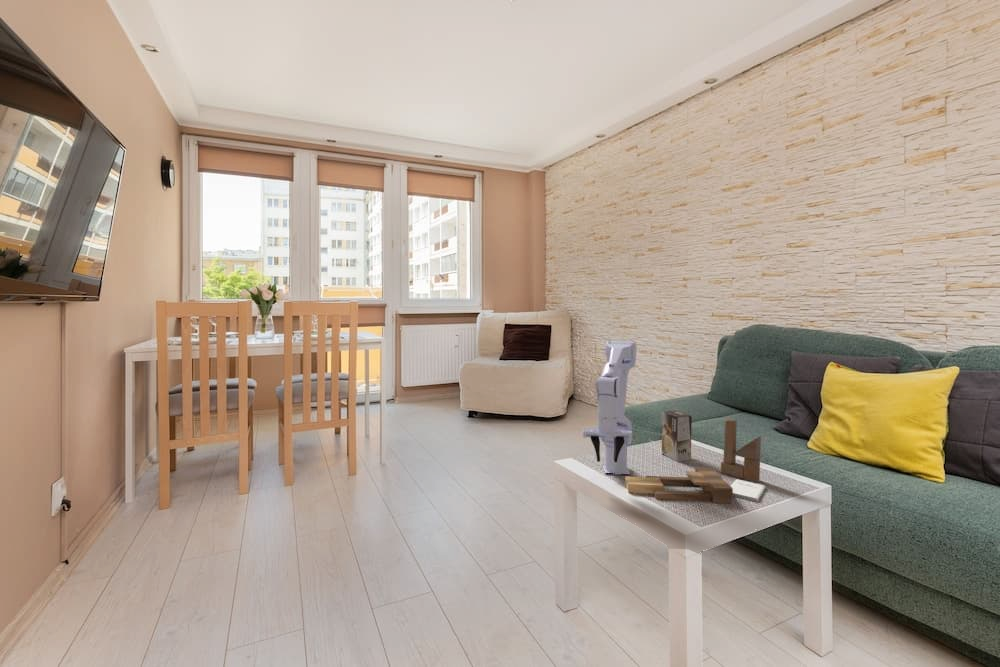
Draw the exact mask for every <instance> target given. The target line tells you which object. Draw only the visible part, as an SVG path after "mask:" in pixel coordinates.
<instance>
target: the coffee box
mask: <svg viewBox="0 0 1000 667" xmlns="http://www.w3.org/2000/svg"><path fill="white" fill-rule="evenodd" d="M661 418H662V420H661V454H662V455H663V454H664V455H663V456H665V455H666V456H665V457H667V458H669V457H670V459H671V458H672V459H671V460H673V461H676V462H683V461H684V462H685V461H691V460H692V426H693V425H692V424H693V423H692V415H691V414H687V413H683V412H681V411H678V410H667V411H662V412H661Z"/></svg>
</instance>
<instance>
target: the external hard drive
mask: <svg viewBox="0 0 1000 667" xmlns="http://www.w3.org/2000/svg"><path fill="white" fill-rule="evenodd" d="M730 486H731V487H732V488H733V493H732V497H734V498H739V499H741V500H742V499H743V500H746V499H747V500H746V501H750V500H751V502H756V503H758V502H759V501H760V499H759V498H761V497H762V495H763V494H764V492H765V490H766V487H767V486H766V485H764V484H762V483H757V482H751V481H748V480H744V479H742V480H741V479H739V478H737V479H735V480H734V481H733V483H732V484H730ZM764 489H765V490H764ZM763 491H764V492H763ZM761 494H762V495H761ZM760 496H761V497H760Z"/></svg>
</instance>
